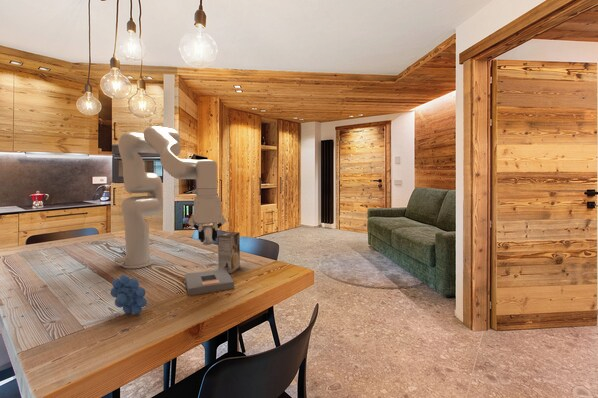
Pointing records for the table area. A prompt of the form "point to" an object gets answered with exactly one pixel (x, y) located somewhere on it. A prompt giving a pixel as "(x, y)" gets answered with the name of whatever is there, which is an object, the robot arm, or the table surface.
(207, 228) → the peg
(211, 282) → the hole board
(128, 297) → the grapes
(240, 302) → the table surface
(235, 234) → the coffee box
